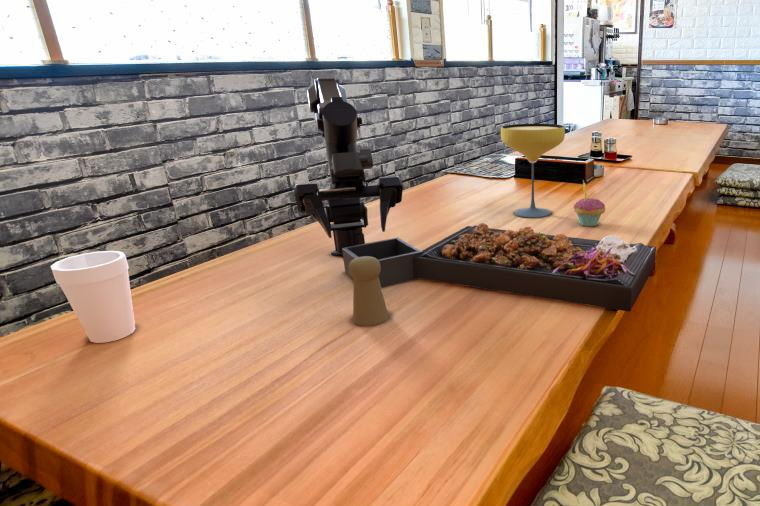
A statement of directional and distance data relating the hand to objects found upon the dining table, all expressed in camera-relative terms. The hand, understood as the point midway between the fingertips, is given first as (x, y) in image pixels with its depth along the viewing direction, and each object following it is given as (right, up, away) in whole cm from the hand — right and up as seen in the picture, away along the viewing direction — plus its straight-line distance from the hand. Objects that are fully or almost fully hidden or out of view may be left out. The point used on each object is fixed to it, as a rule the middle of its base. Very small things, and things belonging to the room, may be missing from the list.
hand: (357, 233), depth 94 cm
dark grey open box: (0, -7, +18) cm, 19 cm away
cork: (+3, -15, -2) cm, 15 cm away
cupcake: (+49, +7, +52) cm, 72 cm away
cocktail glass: (+34, +11, +64) cm, 73 cm away
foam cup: (-39, -17, -6) cm, 43 cm away
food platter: (+32, -7, +17) cm, 37 cm away
